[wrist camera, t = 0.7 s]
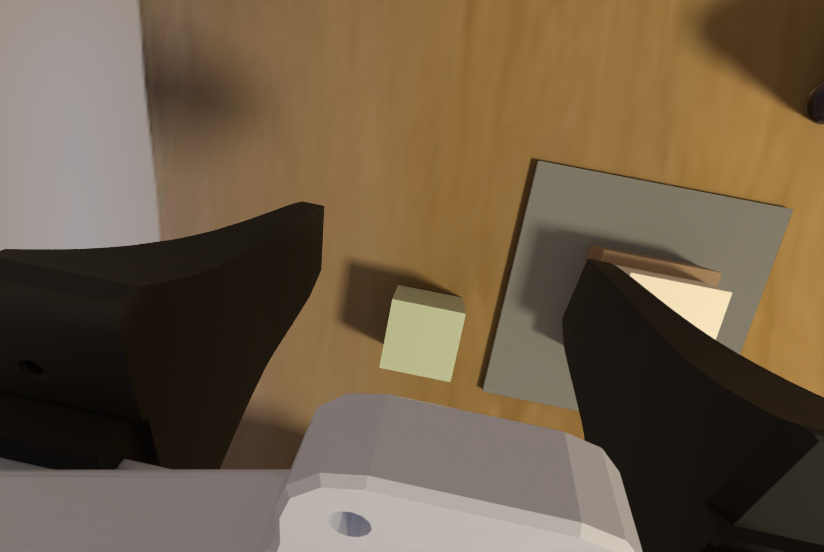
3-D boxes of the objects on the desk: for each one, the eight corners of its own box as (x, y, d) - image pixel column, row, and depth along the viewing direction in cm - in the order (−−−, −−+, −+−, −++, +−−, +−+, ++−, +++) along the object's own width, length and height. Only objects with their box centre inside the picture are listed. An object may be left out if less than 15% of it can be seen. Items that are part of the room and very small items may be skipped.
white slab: (676, 367, 27) (699, 385, 25) (588, 350, 27) (602, 366, 25) (705, 282, 26) (732, 292, 24) (613, 264, 26) (630, 272, 24)
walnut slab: (664, 365, 30) (684, 381, 27) (562, 344, 30) (573, 358, 28) (697, 265, 28) (722, 272, 26) (590, 244, 29) (604, 249, 26)
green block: (449, 357, 31) (450, 382, 27) (386, 345, 31) (379, 367, 28) (462, 297, 30) (465, 313, 26) (398, 284, 30) (392, 298, 27)
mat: (705, 434, 31) (709, 437, 31) (482, 388, 31) (482, 391, 31) (788, 209, 28) (793, 209, 27) (537, 160, 28) (538, 160, 28)
